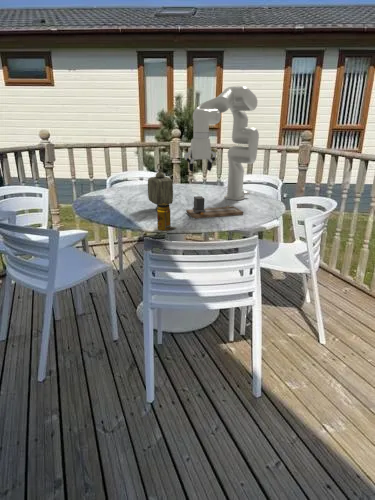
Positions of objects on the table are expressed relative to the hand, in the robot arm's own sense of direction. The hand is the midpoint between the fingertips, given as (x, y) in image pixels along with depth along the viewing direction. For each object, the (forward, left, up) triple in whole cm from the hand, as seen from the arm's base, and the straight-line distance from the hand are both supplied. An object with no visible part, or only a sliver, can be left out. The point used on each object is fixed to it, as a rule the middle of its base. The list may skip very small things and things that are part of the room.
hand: (200, 170), depth 183 cm
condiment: (+24, +20, -23) cm, 39 cm away
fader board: (-8, +2, -23) cm, 24 cm away
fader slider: (+1, +2, -21) cm, 21 cm away
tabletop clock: (+18, -14, -23) cm, 32 cm away
